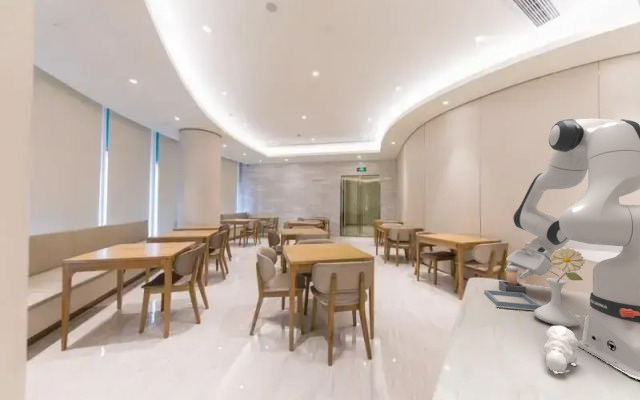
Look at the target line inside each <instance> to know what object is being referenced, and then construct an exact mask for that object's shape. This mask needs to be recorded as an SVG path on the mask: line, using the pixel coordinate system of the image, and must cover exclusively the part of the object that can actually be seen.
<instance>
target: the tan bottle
mask: <svg viewBox="0 0 640 400" xmlns="http://www.w3.org/2000/svg"><path fill="white" fill-rule="evenodd" d="M506 268H507V272H506V274H507V275H506V279H507V280H506V281H507V285H510V286H517V282H518V270H519V268H518V267H517V266H513V265H508V264H507V265H506Z"/></svg>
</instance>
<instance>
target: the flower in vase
mask: <svg viewBox="0 0 640 400" xmlns="http://www.w3.org/2000/svg"><path fill="white" fill-rule="evenodd" d="M550 260H551V261H552V262H551V263H552V264H553V268H555V269H558V270H560V271H561V270H562V272H564V273H563V274H562V275H561V276H559V275H558V273H555V272H553V271H552V270H548V269H547V270H548V272H550V273H551V274H554V275H555V276H557V277H559V278H551V277H548V278H546V281H547V282H548V283H549V286H550V291H551V297H550V298H551V299H550V301H549V302H548V303H546V304H543V305H541V307H539V308H537V309H534V310H535V311H534V312H533V314H534V316H535V317H536V318H537V319H538V320H541V321H543V322H545V323H547V324H550V325H553V326H564V327H566V328H567V327H576V326H578V325H579V324H580V321H579V319H578V317H576V315H575V314H574V313H573V312H571V311H570V310H569V309H567V307H565V306H564V305H563V304H562V301H561V300H562V299H561V293H562V289H563V287H564V285H565V284H566V283H567V281H566V280H563V279H562V278H564V276H566V277H567V278H568V280H571V281H584V280H583V278H582V277H581V276H580V275H579V274H578V273H576V272H577V271H579V270H580V269H582V267H583V266H584V264H585V262H586V260H585V259H584V257H583V256H582V253H580V252H579V251H576V250H575V249H573V248H572V249H571V248H569V247H566V248H564V247H562V248H561V249H558V250H555V252H554V253H552V256H551V257H550Z"/></svg>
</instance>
